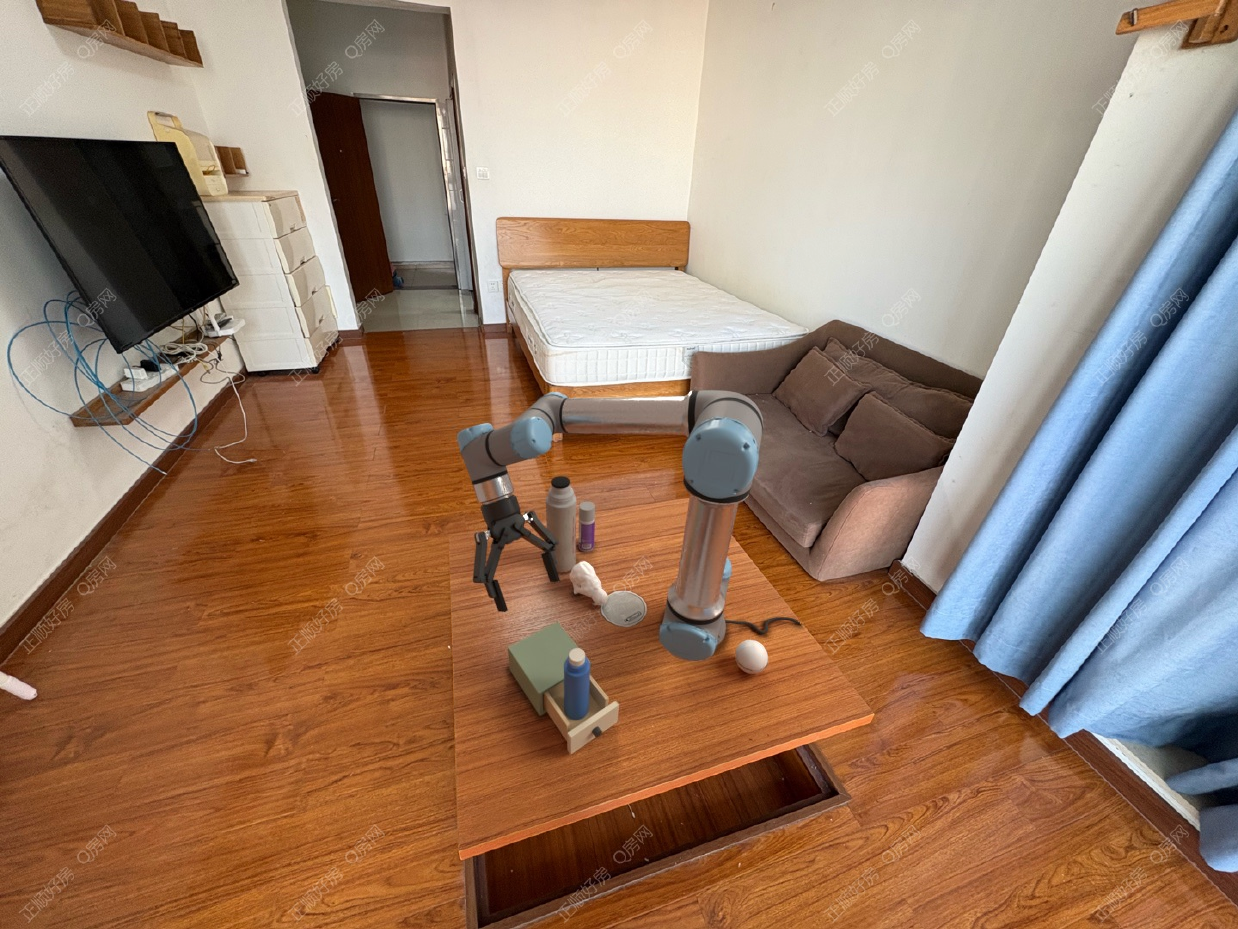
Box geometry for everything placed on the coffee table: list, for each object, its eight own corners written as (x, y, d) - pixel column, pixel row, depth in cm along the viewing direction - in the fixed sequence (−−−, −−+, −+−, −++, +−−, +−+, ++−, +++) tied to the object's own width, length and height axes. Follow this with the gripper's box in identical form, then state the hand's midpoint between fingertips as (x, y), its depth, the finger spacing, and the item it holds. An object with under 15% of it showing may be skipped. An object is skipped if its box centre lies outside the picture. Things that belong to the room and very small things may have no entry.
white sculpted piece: (586, 554, 134) (616, 582, 127) (584, 576, 139) (613, 604, 132) (567, 564, 130) (597, 594, 123) (566, 586, 135) (594, 616, 128)
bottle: (591, 702, 105) (594, 648, 96) (583, 723, 101) (584, 669, 92) (569, 694, 106) (569, 640, 97) (560, 716, 102) (559, 661, 93)
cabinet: (590, 685, 111) (591, 662, 107) (540, 716, 104) (538, 693, 100) (557, 643, 120) (557, 621, 116) (509, 669, 113) (507, 647, 109)
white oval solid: (725, 661, 118) (730, 640, 114) (749, 649, 121) (755, 628, 117) (754, 695, 110) (761, 674, 107) (779, 682, 114) (786, 661, 110)
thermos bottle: (579, 556, 146) (580, 474, 131) (571, 574, 139) (571, 491, 125) (552, 551, 147) (550, 470, 133) (543, 569, 140) (540, 486, 126)
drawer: (621, 726, 102) (622, 709, 99) (574, 760, 96) (574, 743, 93) (583, 677, 111) (583, 660, 108) (538, 705, 105) (537, 688, 102)
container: (597, 545, 150) (598, 504, 143) (588, 554, 147) (589, 512, 139) (584, 539, 152) (585, 499, 145) (575, 547, 149) (575, 506, 141)
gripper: (535, 483, 114) (564, 570, 116) (433, 521, 97) (469, 623, 99) (554, 478, 109) (584, 570, 111) (450, 519, 92) (487, 626, 93)
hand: (530, 595), depth 105 cm, fingers open, 13 cm apart
